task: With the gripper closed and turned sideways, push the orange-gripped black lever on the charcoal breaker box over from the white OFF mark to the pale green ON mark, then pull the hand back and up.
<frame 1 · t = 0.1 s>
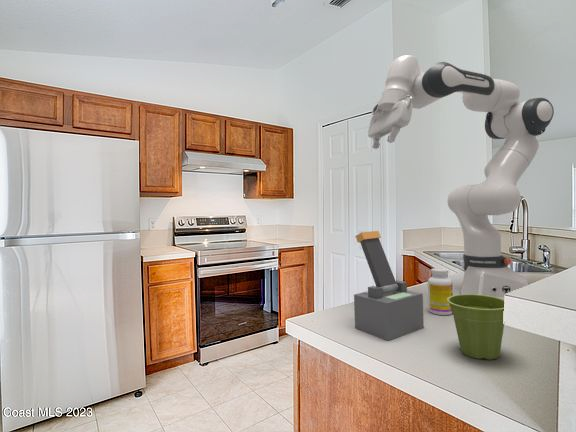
hand: (382, 145, 105), 52 cm above the counter, tool tilted 20°, fingers open, 8 cm apart
breaker box: (389, 327, 86), on the counter
supplement bottle: (440, 313, 98), on the counter
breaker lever: (377, 261, 89), point 17 cm above the counter, hinge at -25.0°
plant pot: (479, 354, 70), on the counter
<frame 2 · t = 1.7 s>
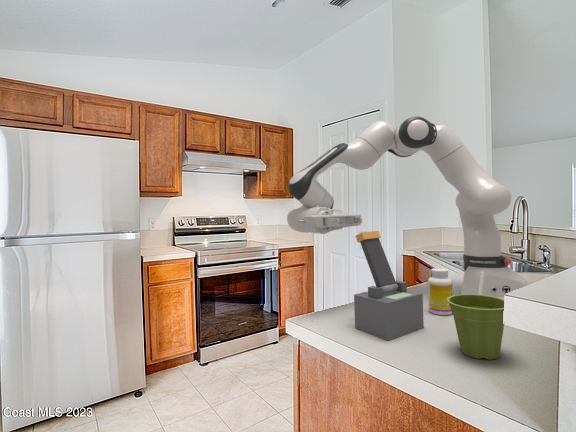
hand: (350, 220, 97), 28 cm above the counter, tool horizontal, fingers open, 7 cm apart
nothing on the counter moved.
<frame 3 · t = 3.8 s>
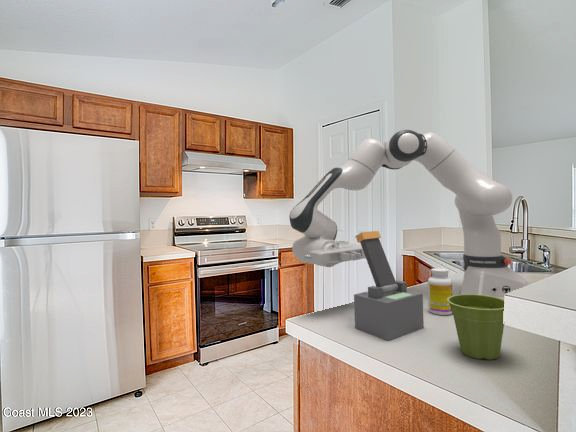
hand: (357, 257, 95), 18 cm above the counter, tool horizontal, fingers closed
nothing on the counter moved.
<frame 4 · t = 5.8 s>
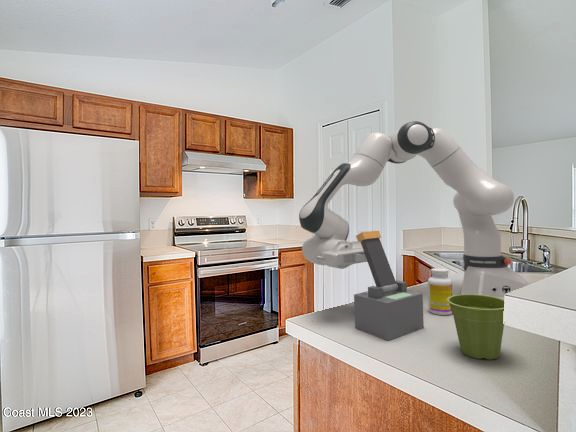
hand: (373, 258, 90), 18 cm above the counter, tool horizontal, fingers closed, pressing on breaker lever
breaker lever: (378, 261, 89), point 17 cm above the counter, hinge at -24.3°, touching gripper
everything else where it was.
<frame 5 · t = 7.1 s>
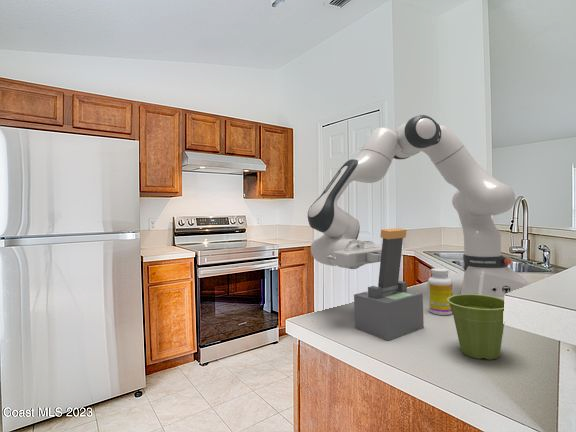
hand: (387, 258, 86), 19 cm above the counter, tool horizontal, fingers closed, pressing on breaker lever
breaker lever: (390, 261, 85), point 18 cm above the counter, hinge at 9.4°, touching gripper
everything else where it was.
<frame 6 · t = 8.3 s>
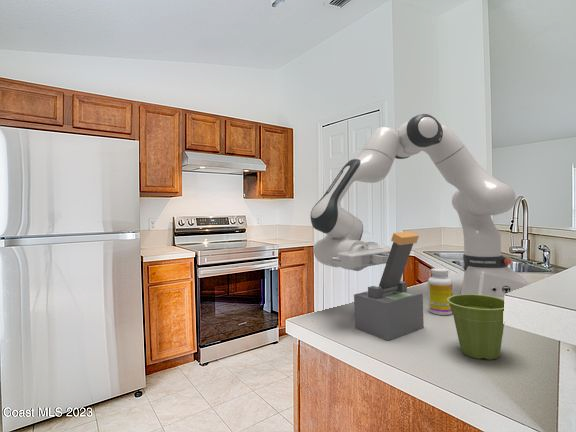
hand: (393, 260, 84), 18 cm above the counter, tool horizontal, fingers closed, pressing on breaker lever
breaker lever: (396, 264, 84), point 17 cm above the counter, hinge at 23.3°, touching gripper
everything else where it was.
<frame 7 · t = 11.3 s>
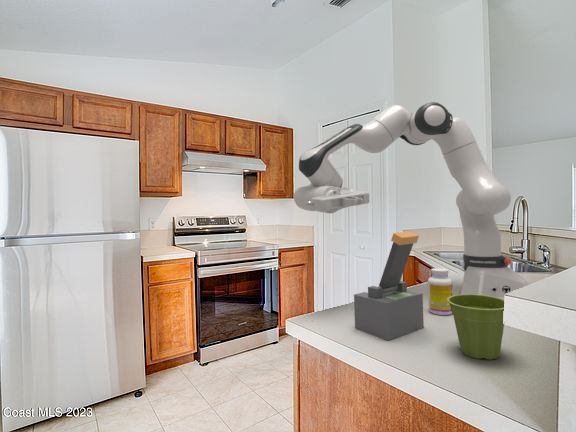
hand: (359, 202, 96), 34 cm above the counter, tool horizontal, fingers closed
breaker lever: (396, 264, 84), point 17 cm above the counter, hinge at 23.3°
everything else where it was.
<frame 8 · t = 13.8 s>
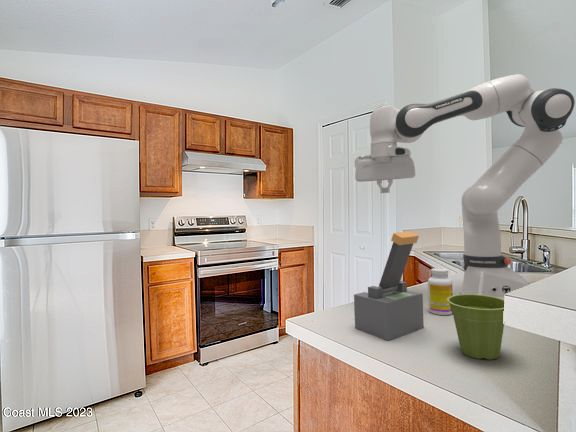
hand: (385, 192, 115), 37 cm above the counter, tool pointing down, fingers closed
nothing on the counter moved.
at the end: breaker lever at +23° (first picture: -25°); supplement bottle moved 0.2 cm from its start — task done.
